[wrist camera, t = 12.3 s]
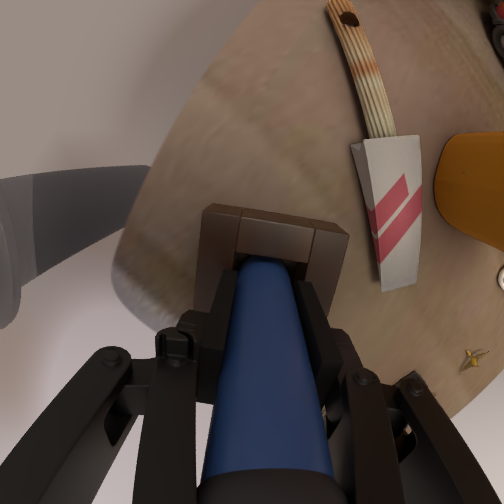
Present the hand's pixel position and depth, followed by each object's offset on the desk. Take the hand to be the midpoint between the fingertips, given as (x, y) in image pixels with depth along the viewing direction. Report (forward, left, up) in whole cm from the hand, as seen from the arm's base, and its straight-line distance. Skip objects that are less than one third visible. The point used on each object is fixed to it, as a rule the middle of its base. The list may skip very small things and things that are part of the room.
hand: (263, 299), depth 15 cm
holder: (0, 0, -4) cm, 4 cm away
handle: (0, 0, -3) cm, 3 cm away
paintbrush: (+6, +10, -4) cm, 12 cm away
